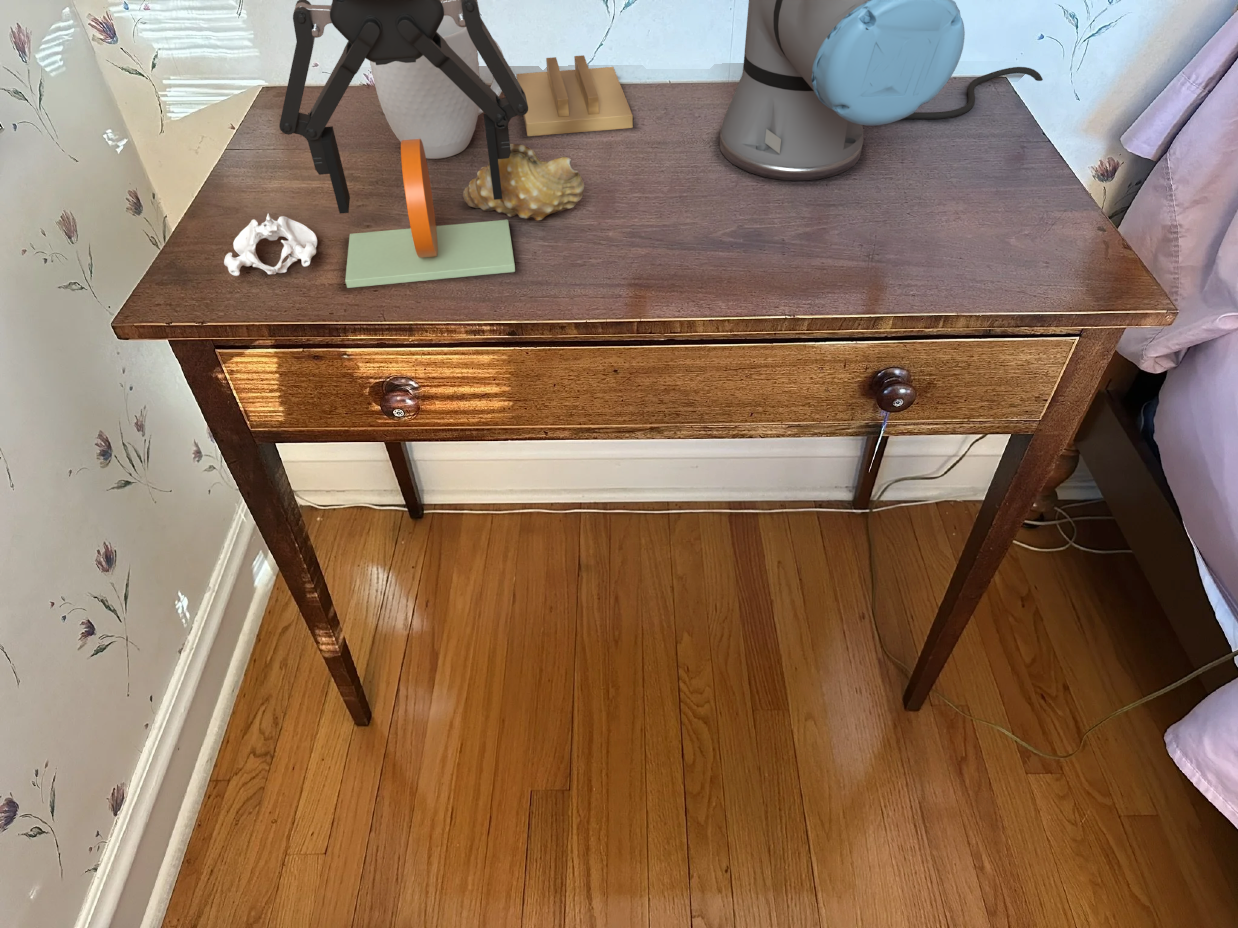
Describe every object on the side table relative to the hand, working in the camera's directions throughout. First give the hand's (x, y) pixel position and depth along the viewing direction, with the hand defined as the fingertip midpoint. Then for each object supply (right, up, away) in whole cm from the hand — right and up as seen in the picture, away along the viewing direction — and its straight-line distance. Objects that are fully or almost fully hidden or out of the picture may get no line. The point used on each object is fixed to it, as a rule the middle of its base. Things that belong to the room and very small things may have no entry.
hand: (421, 199), depth 79 cm
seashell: (+9, +6, +8) cm, 14 cm away
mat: (0, -4, +4) cm, 6 cm away
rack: (+12, +19, +27) cm, 35 cm away
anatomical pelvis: (-14, -5, +3) cm, 15 cm away
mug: (-2, +12, +20) cm, 24 cm away
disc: (0, -3, +4) cm, 5 cm away
